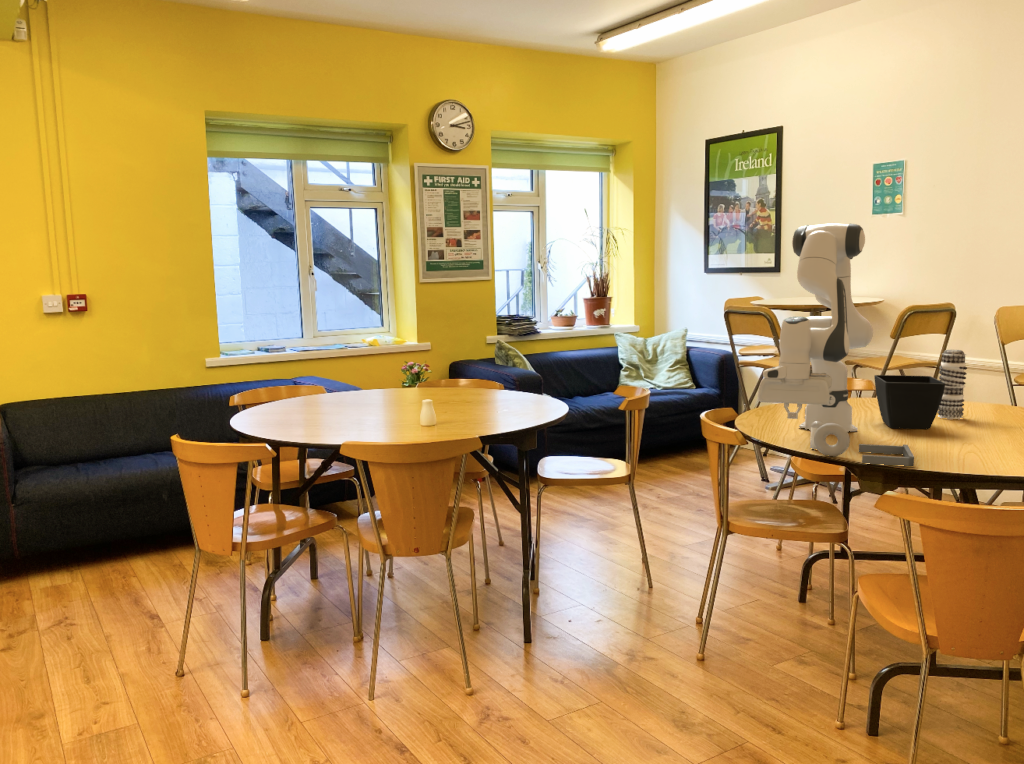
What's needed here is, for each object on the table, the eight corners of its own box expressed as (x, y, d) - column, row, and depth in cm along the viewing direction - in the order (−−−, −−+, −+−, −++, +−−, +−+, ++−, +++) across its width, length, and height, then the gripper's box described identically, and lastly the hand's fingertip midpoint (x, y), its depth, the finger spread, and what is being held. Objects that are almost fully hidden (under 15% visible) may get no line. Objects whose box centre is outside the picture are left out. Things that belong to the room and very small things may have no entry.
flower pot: (943, 431, 281) (946, 382, 279) (883, 430, 285) (886, 381, 283) (927, 422, 299) (930, 375, 297) (871, 420, 303) (873, 375, 301)
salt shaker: (810, 447, 258) (811, 419, 256) (822, 448, 256) (823, 420, 255) (810, 450, 254) (811, 421, 253) (822, 450, 253) (823, 422, 252)
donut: (849, 456, 245) (850, 423, 243) (848, 459, 242) (850, 425, 240) (813, 454, 249) (814, 421, 248) (812, 456, 246) (813, 422, 245)
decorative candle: (957, 415, 312) (961, 349, 309) (968, 419, 303) (972, 351, 300) (932, 415, 313) (935, 349, 310) (942, 419, 304) (946, 351, 301)
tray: (858, 452, 251) (859, 442, 250) (906, 454, 246) (907, 444, 246) (862, 464, 235) (862, 453, 235) (913, 467, 231) (914, 456, 230)
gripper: (831, 372, 245) (829, 418, 247) (759, 370, 252) (757, 415, 254) (832, 374, 239) (830, 421, 241) (758, 372, 246) (756, 418, 248)
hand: (792, 418), depth 247 cm, fingers closed
